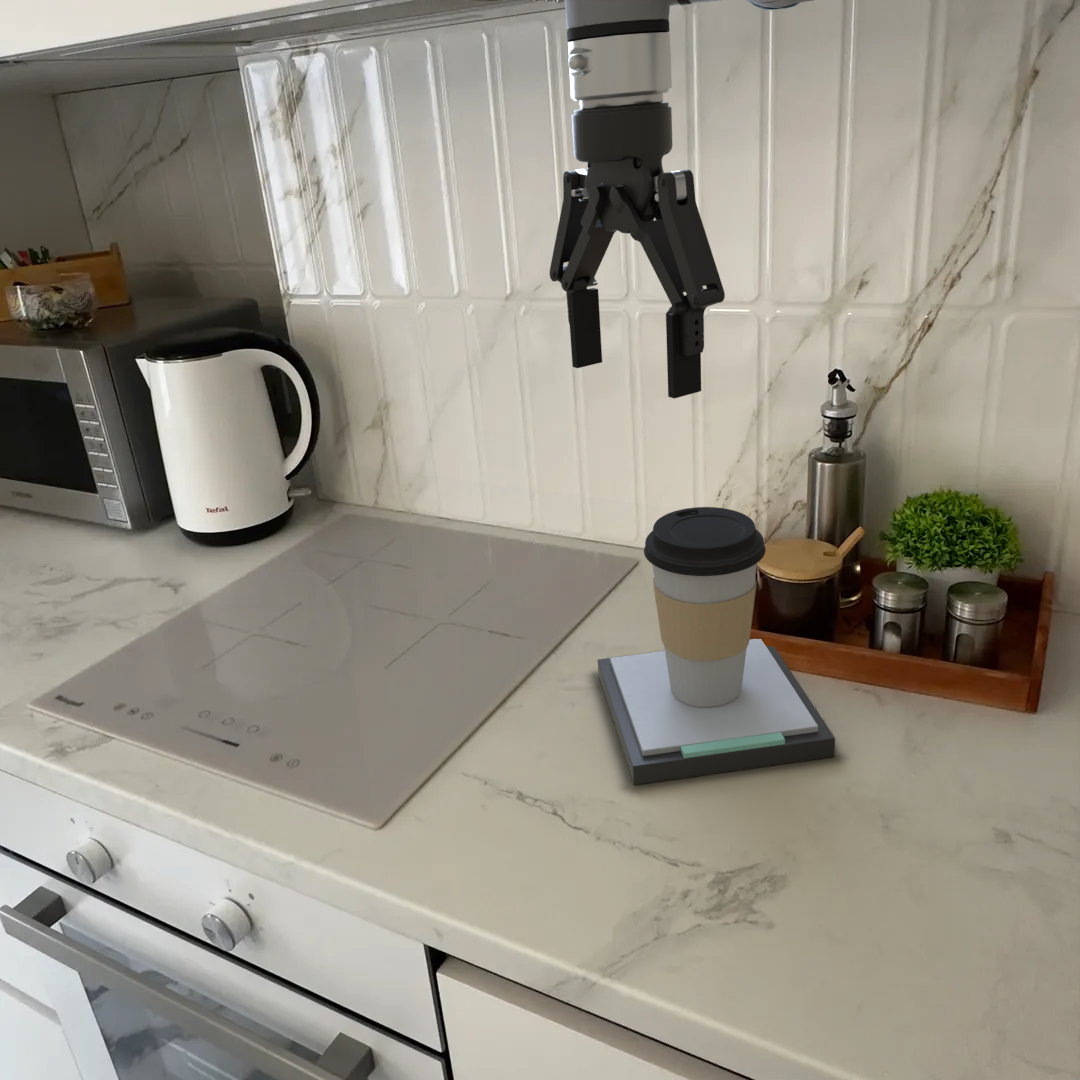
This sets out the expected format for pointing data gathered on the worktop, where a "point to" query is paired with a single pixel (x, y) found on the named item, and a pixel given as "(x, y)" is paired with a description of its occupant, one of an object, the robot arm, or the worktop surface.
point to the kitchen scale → (711, 719)
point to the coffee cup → (705, 599)
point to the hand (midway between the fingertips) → (632, 378)
